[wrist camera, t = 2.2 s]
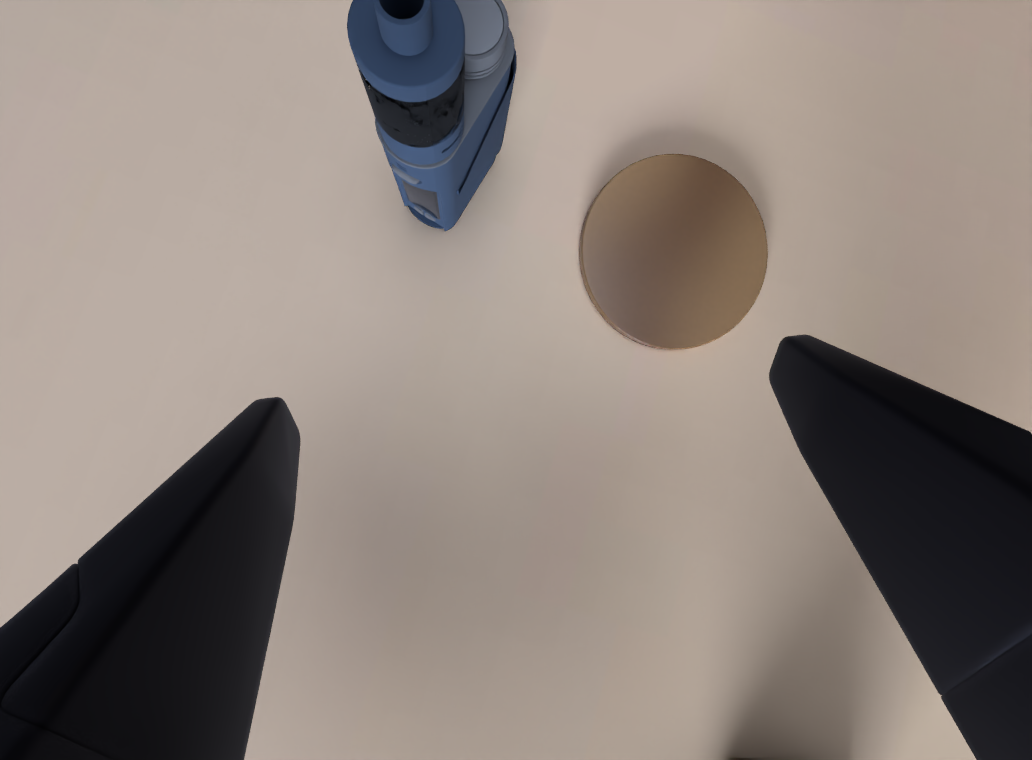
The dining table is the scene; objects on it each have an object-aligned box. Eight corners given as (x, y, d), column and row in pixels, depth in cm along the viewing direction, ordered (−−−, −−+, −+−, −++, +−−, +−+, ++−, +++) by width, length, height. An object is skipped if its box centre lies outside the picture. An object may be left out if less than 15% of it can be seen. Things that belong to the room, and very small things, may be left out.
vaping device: (391, 211, 21) (300, 10, 9) (458, 105, 21) (456, -231, 9) (445, 245, 21) (425, 94, 9) (511, 141, 21) (573, -140, 9)
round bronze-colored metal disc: (775, 178, 23) (782, 174, 22) (745, 363, 23) (751, 363, 22) (595, 140, 22) (598, 134, 21) (565, 332, 22) (567, 332, 21)
